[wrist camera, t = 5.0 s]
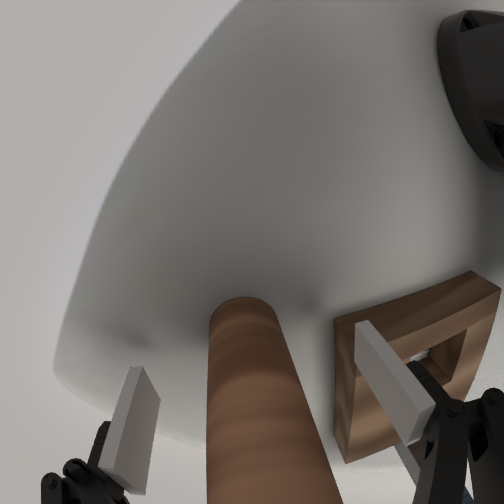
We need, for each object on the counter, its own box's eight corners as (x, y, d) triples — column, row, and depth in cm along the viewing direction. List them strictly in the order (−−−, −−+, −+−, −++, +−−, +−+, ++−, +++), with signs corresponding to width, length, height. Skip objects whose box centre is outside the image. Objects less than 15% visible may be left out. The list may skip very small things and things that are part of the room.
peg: (201, 304, 17) (187, 548, 4) (272, 290, 17) (362, 521, 4) (219, 358, 18) (229, 562, 5) (282, 346, 18) (347, 542, 5)
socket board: (333, 318, 18) (357, 353, 14) (471, 270, 19) (501, 288, 15) (333, 434, 23) (345, 464, 19) (442, 387, 23) (460, 408, 20)
